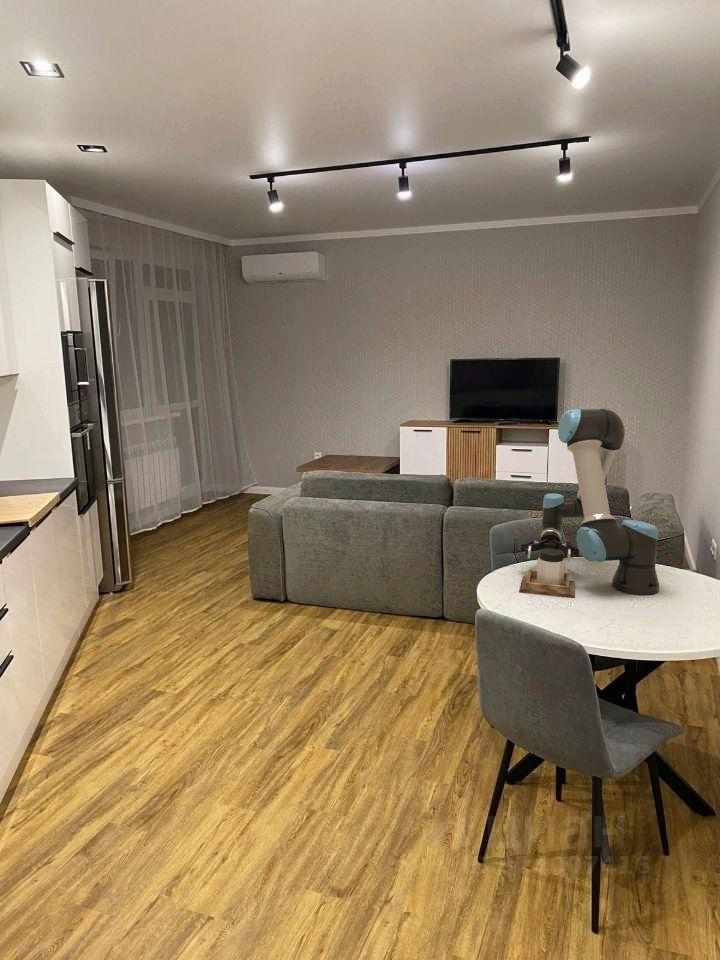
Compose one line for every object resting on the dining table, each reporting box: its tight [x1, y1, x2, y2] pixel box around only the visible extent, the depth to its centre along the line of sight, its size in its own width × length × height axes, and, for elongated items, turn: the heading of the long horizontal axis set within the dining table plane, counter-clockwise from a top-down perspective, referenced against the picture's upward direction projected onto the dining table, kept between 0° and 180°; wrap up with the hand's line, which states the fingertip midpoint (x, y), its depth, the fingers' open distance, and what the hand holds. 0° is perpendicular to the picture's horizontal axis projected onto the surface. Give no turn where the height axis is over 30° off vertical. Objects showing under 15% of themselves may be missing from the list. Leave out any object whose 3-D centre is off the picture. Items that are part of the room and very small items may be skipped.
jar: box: [536, 548, 566, 586], centre depth 245 cm, size 9×8×12 cm
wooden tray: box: [518, 569, 576, 599], centre depth 246 cm, size 18×15×4 cm
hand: (548, 556), depth 250 cm, fingers open, 13 cm apart
